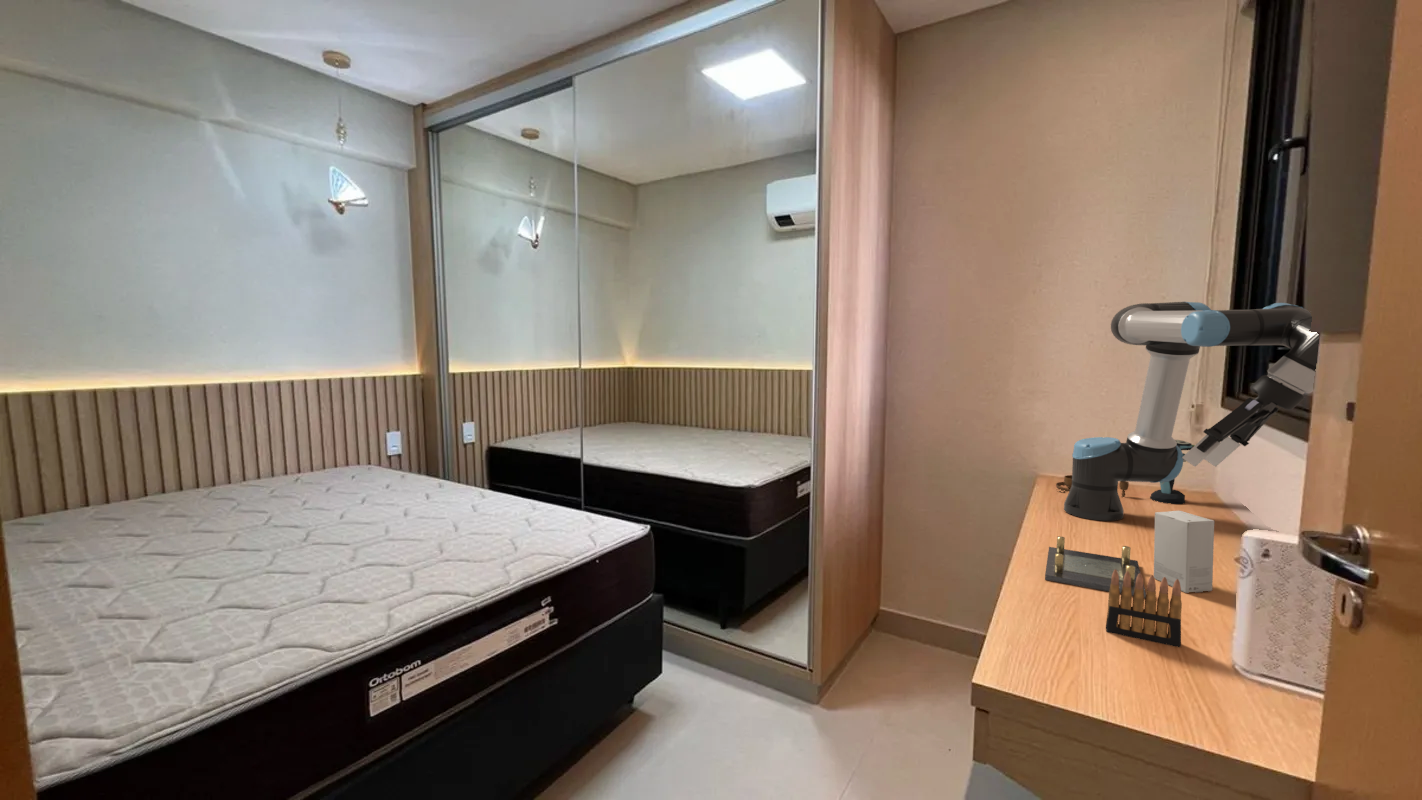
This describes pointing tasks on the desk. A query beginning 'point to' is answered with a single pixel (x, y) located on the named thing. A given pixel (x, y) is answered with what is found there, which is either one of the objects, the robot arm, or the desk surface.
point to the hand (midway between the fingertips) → (1199, 462)
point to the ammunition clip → (1145, 611)
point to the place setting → (1068, 483)
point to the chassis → (1089, 568)
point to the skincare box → (1184, 550)
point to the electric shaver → (1171, 484)
